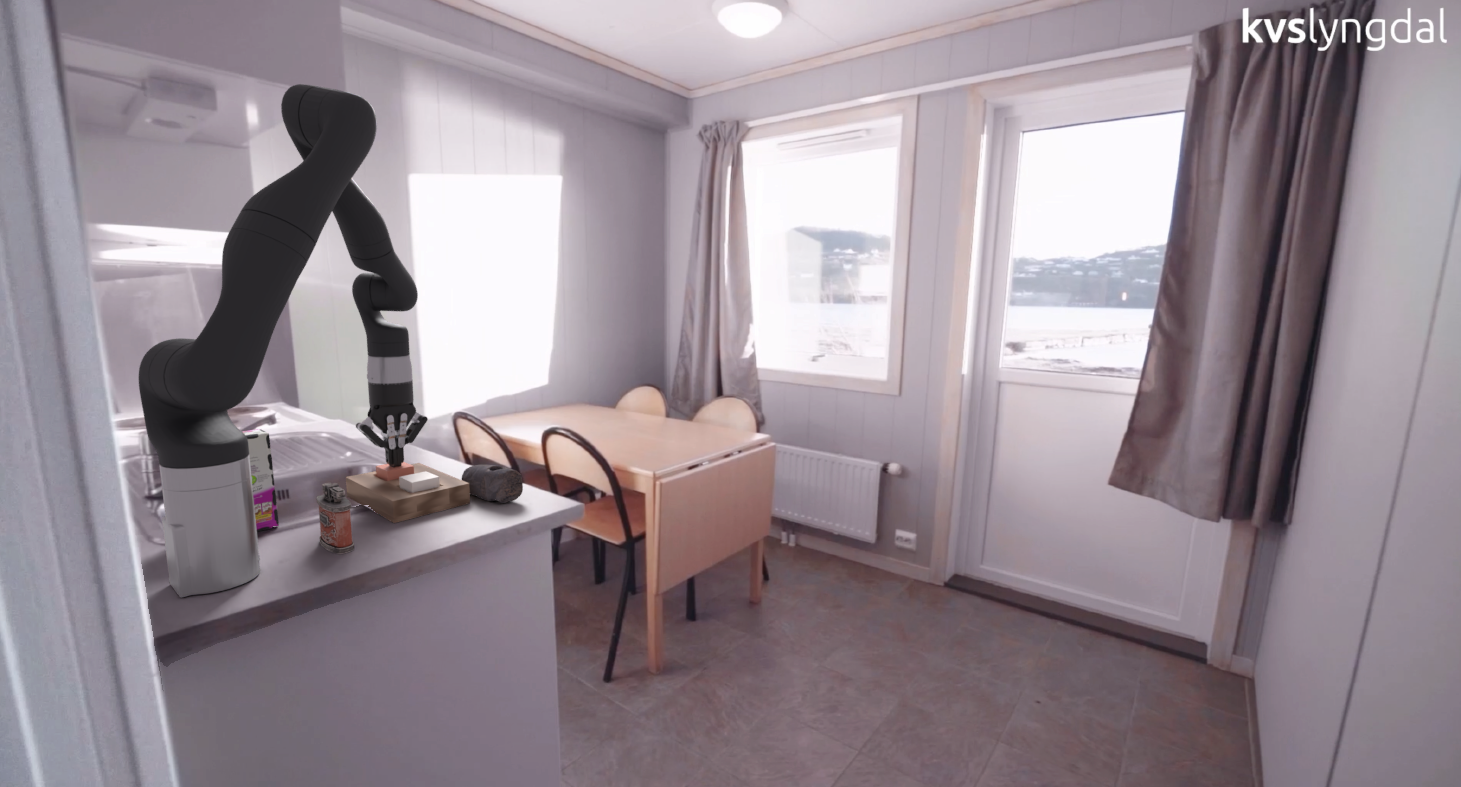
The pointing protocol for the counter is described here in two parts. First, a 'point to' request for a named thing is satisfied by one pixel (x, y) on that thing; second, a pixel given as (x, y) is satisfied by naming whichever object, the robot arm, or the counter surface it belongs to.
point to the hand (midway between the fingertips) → (395, 465)
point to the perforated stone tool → (493, 482)
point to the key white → (419, 482)
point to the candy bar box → (262, 479)
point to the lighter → (335, 519)
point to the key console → (407, 495)
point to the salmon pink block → (393, 471)
